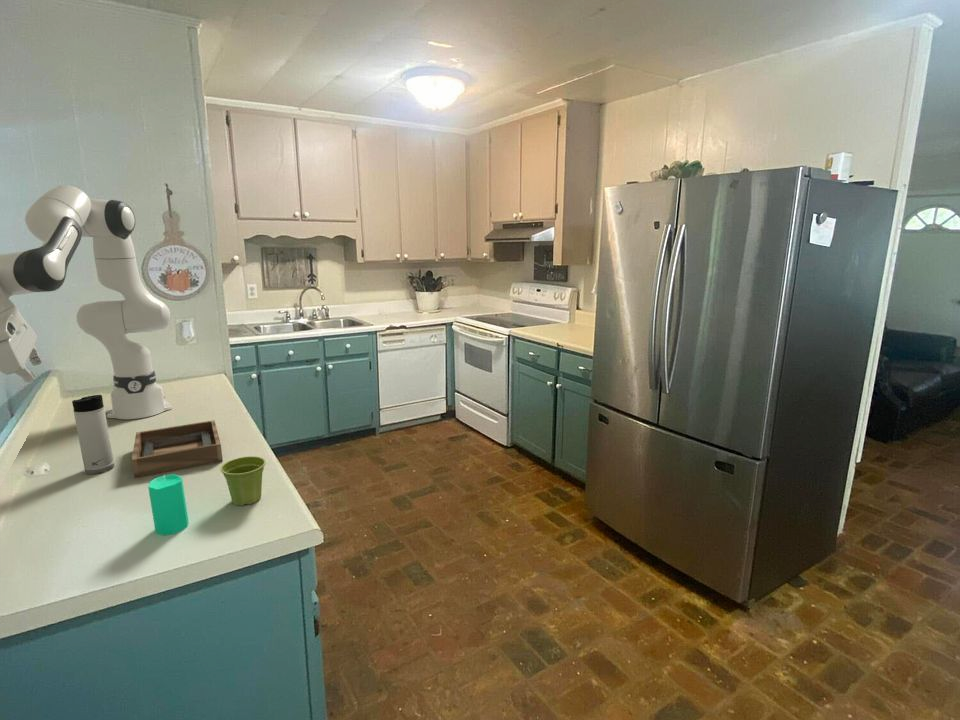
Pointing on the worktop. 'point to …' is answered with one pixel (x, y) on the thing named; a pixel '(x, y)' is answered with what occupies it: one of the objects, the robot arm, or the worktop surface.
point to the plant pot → (244, 478)
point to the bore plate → (176, 441)
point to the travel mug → (93, 434)
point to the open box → (175, 450)
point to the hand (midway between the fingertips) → (34, 371)
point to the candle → (168, 504)
